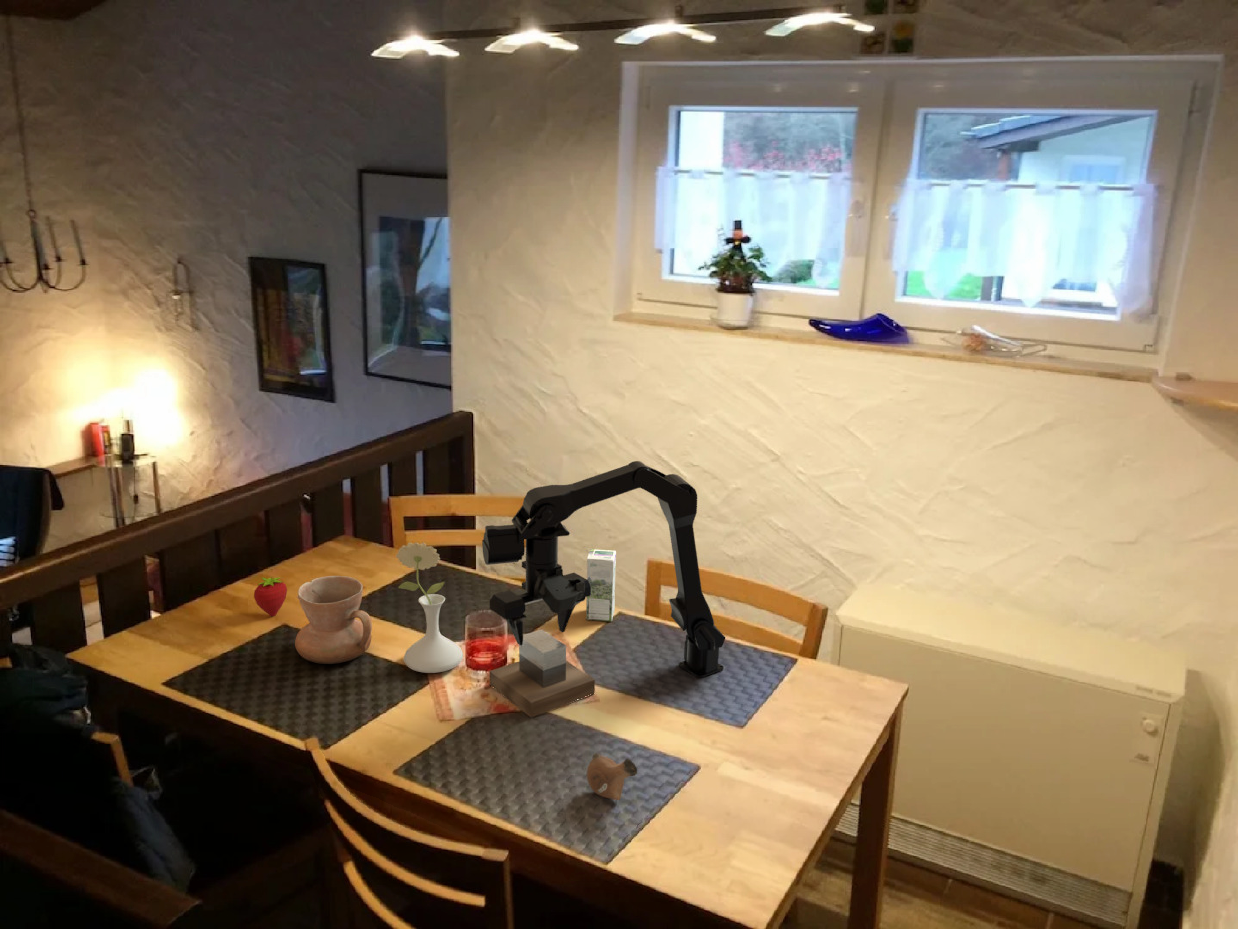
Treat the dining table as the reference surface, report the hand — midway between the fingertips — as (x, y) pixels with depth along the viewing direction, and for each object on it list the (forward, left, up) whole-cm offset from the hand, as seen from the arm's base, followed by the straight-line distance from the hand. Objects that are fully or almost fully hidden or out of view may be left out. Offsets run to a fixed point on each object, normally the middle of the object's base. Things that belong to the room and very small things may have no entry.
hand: (541, 638), depth 188 cm
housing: (0, 0, -8) cm, 8 cm away
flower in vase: (+21, +12, -11) cm, 26 cm away
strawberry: (+59, +29, -11) cm, 67 cm away
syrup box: (+19, -28, -11) cm, 36 cm away
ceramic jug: (+35, +25, -11) cm, 44 cm away
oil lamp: (-34, +10, -11) cm, 37 cm away
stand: (0, 0, -11) cm, 11 cm away
